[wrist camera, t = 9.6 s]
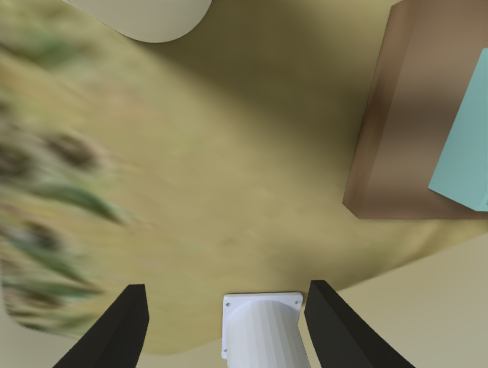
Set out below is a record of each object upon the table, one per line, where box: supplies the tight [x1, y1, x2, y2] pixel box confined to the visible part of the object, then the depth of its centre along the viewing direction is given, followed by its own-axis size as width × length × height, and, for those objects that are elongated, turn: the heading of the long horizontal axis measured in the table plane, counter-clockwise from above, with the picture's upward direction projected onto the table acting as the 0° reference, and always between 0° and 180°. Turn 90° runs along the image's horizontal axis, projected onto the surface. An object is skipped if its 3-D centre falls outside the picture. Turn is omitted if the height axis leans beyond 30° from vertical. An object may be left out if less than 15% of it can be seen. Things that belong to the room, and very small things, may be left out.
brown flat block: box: [342, 0, 488, 219], centre depth 16 cm, size 14×13×4 cm
